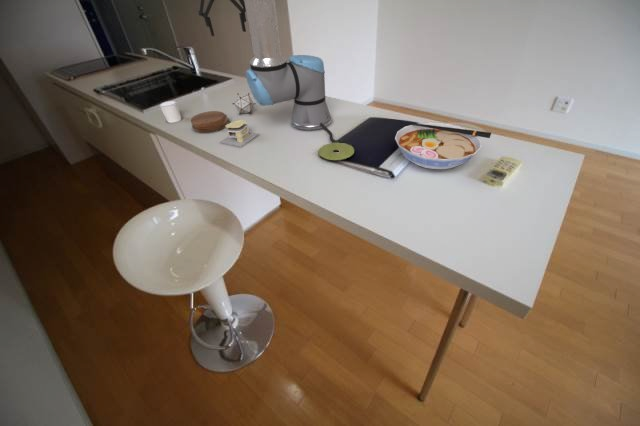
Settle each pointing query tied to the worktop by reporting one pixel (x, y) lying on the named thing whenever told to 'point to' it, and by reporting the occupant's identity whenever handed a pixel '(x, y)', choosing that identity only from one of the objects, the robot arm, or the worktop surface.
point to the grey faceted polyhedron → (244, 103)
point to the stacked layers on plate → (238, 133)
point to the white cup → (171, 111)
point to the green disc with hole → (329, 149)
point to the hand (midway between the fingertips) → (228, 33)
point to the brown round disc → (209, 122)
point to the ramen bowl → (438, 144)
